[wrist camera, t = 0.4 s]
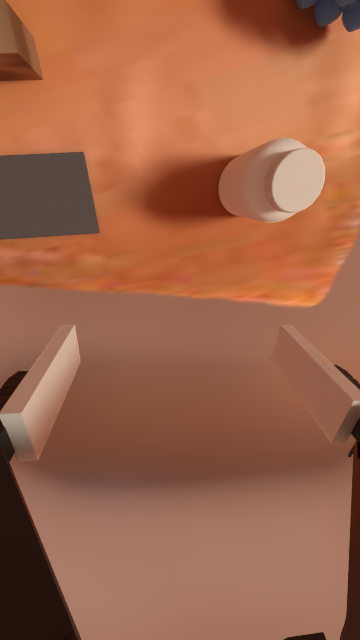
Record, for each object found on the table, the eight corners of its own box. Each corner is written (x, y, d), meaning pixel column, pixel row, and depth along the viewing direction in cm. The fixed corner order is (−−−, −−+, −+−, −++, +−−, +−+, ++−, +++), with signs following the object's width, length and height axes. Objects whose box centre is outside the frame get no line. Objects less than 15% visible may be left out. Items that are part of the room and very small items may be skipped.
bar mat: (-77, 160, 31) (-81, 159, 30) (83, 152, 32) (82, 152, 31) (-40, 241, 35) (-43, 242, 35) (99, 232, 36) (98, 232, 36)
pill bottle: (273, 205, 37) (340, 210, 24) (223, 223, 38) (262, 238, 24) (266, 145, 33) (340, 112, 20) (211, 166, 34) (247, 147, 21)
